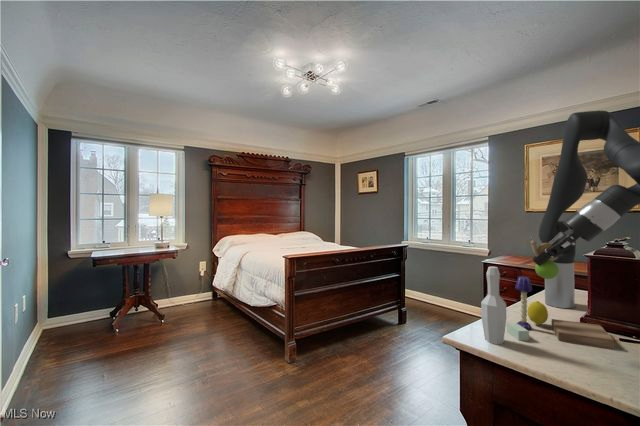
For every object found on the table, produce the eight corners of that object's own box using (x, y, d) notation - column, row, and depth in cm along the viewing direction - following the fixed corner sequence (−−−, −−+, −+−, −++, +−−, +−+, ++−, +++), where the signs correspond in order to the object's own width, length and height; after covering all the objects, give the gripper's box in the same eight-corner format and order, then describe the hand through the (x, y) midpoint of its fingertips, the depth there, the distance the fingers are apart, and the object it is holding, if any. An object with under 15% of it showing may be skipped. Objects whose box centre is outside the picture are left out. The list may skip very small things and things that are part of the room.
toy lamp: (536, 329, 97) (535, 278, 97) (525, 331, 95) (525, 279, 95) (522, 324, 101) (521, 274, 101) (511, 326, 100) (511, 276, 100)
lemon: (539, 329, 97) (539, 304, 97) (523, 323, 102) (523, 299, 102) (552, 327, 99) (552, 302, 98) (536, 321, 104) (535, 297, 104)
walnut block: (551, 328, 99) (551, 318, 99) (600, 334, 93) (599, 324, 93) (559, 342, 89) (558, 332, 89) (614, 350, 83) (613, 340, 83)
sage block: (506, 332, 96) (506, 323, 96) (516, 332, 96) (516, 323, 96) (518, 341, 90) (518, 331, 90) (528, 340, 90) (528, 330, 90)
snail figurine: (532, 274, 91) (531, 235, 90) (559, 277, 87) (558, 236, 86) (530, 279, 87) (529, 238, 86) (558, 282, 83) (558, 239, 82)
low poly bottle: (490, 334, 94) (488, 264, 94) (511, 342, 89) (510, 267, 88) (477, 339, 91) (476, 266, 91) (498, 347, 86) (497, 270, 85)
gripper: (573, 209, 88) (523, 249, 95) (583, 211, 76) (525, 256, 83) (597, 228, 85) (544, 267, 92) (612, 232, 73) (549, 277, 80)
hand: (535, 262), depth 87 cm, fingers closed on snail figurine
